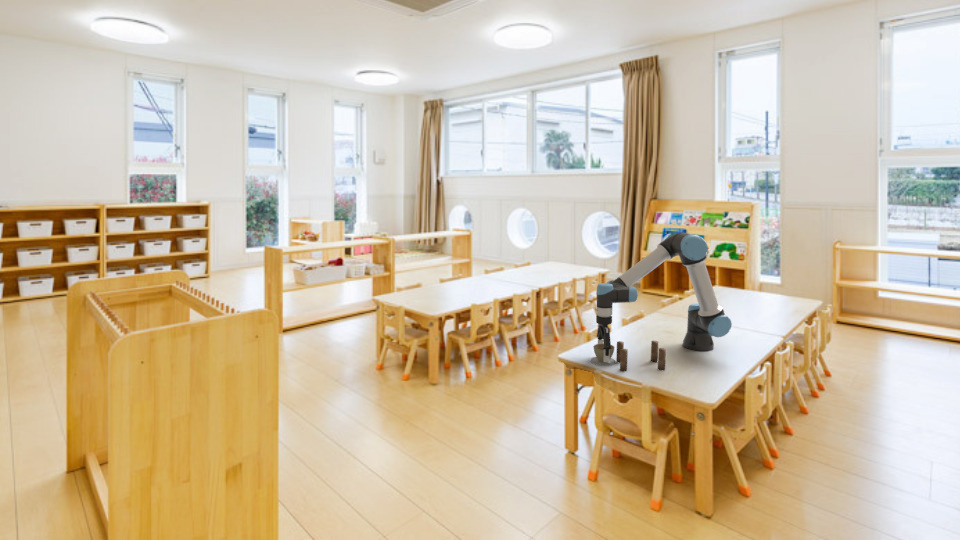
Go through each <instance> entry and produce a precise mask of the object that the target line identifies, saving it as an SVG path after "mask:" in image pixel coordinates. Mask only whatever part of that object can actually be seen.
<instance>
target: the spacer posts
mask: <svg viewBox="0 0 960 540" xmlns="http://www.w3.org/2000/svg"><path fill="white" fill-rule="evenodd" d="M624 343H625V342H624V341H616V360H615V361H616V362H615V363H618V364H619V370H620V372H621V371H622V372H627V371H628V353H629V351H628V349H627V348H624V346H625V345H624ZM666 355H667V349H666V348H665V347H659V341H658V340H651V347H650V362H651V361H652V362H651V363H657V370H658V369H659V370H658V371H662V370H663V371H665V370H666V362H667V361H666V357H667V356H666ZM657 361H658V362H657Z"/></svg>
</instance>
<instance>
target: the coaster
mask: <svg viewBox="0 0 960 540" xmlns="http://www.w3.org/2000/svg"><path fill="white" fill-rule="evenodd" d="M590 362H591V363H592V364H593V363H594V365H596V364H597V366H603V367H605V366H607V367H609V366H614V365H615V364H616V363H617V362H616V360H615V359H614V358H612V357H611V359H610V360H609V362H600V361H599V360H598V359H597V357H596V356H594V357H591V358H590Z"/></svg>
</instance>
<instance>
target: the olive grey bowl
mask: <svg viewBox="0 0 960 540" xmlns="http://www.w3.org/2000/svg"><path fill="white" fill-rule="evenodd" d="M607 347H608V346H607ZM592 348H593V350H594V351H593V352H594V354H595V357H597V359H598V360H599V361H600V362H603V360H604V349H603V348H604V343H603V344H598V343H596V344H594V345H593V347H592ZM614 351H615V346H614V345H613V344H611V349H610V359H611V358H612V357H613V355H614V353H615V352H614Z"/></svg>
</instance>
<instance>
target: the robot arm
mask: <svg viewBox="0 0 960 540" xmlns="http://www.w3.org/2000/svg"><path fill="white" fill-rule="evenodd" d="M707 253H708V243H707V241H706V240H705V238H703V237H702V236H700V235H698V234H695V233H694V234H691V233H687V232H675V233H674V234H672V235H670V236H668V237H666V238H665V239H663V240H662V241H661V242H660V243H659V244H657V245H656V248H655V249H654V250H653V251H651V252H650V253H649V254H647V255H646V256H645V257H643V258H642V259H641V260H639V261H638V262H637V263H635V264H634V265H633V266H632V267H630V268H629V269H628V270H626V271H625V272H623V273H622V274H621V275H619V276H618V277H617V278H615V279H614V280H612V279H611V280H609V281H607V282H601V283H599V284H597V286H596V293H595V294H596V308H595V309H594V310H595V311H596V312H595V313H596V316H595V317H596V318H595V319H596V320H595V321H596V324H598V325H597V333H596V338H597V344H604V348H603V349H604V360H603V362H609V360H610V349H611V345H612V344H611V328H609V326H608V325H612V323H613V316H612V315H613V304H620V303H621V304H622V303H623V304H625V303H629V304H630V303H635V302H636V301H637V300H638V296H639V295H638V293H639V292H638V289H637V288H636V287H635V286H633V285H635V284H637V282H639V281H640V280H641V279H643V278H644V277H645V276H647V275H648V274H650V273H651V272H653V270H655V269H657V268H658V267H659V266H660V265H661V264H663V263H664V262H665V261H666V260H668V261H670V260H671V259H673V258H674V257H677V256H679V260H680V262H681V265H682V266H684V267H686V270H687V273H688V276H689V279H690V283H691V285H692V288H693V292H694V294H695V297H696V301H697V303H692V304H689V306H688V309H687V324H686V325H687V326H686V328H687V329H686V333H685V336H684V338H683V341H682V346H683V347H684V348H686V349H689V350H693V351H699V352H700V351H701V352H702V351H703V352H704V351H706V352H707V351H712V350H713V349H714V348H715V343H714V340H713V337H715V338H722V337H724V336H726V335H728V333H729V332H730V330H731V329H732V320H731V318H729V316H727V315H726V314H725V311H724V308H723V306H722V305H720V304H719V302H718V300H717V297H716V296H717V295H716V294H715V291H714V288H713V285H712V282H711V277H710V274H709V271H708V268H707V265H706V262H705V261H706V260H707ZM607 346H608V347H607Z"/></svg>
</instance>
